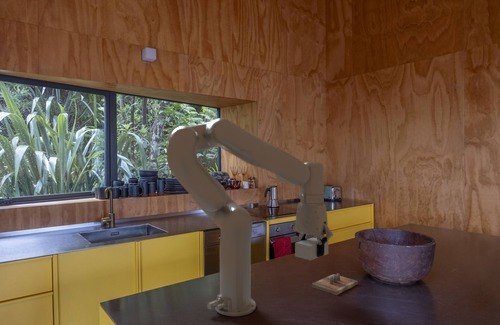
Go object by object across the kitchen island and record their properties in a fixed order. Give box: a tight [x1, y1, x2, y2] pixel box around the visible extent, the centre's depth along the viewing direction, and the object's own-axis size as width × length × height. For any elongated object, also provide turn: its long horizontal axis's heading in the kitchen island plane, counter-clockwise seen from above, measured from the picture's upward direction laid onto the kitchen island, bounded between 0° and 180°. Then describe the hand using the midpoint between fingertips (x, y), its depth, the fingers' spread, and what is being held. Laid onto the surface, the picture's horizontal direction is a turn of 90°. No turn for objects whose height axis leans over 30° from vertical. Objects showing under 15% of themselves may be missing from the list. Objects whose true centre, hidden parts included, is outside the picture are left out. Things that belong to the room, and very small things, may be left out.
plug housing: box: [294, 236, 329, 261], centre depth 114 cm, size 10×6×4 cm, turn 134°
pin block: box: [311, 272, 359, 296], centre depth 124 cm, size 14×10×4 cm
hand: (311, 253), depth 114 cm, fingers closed on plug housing, 6 cm apart
